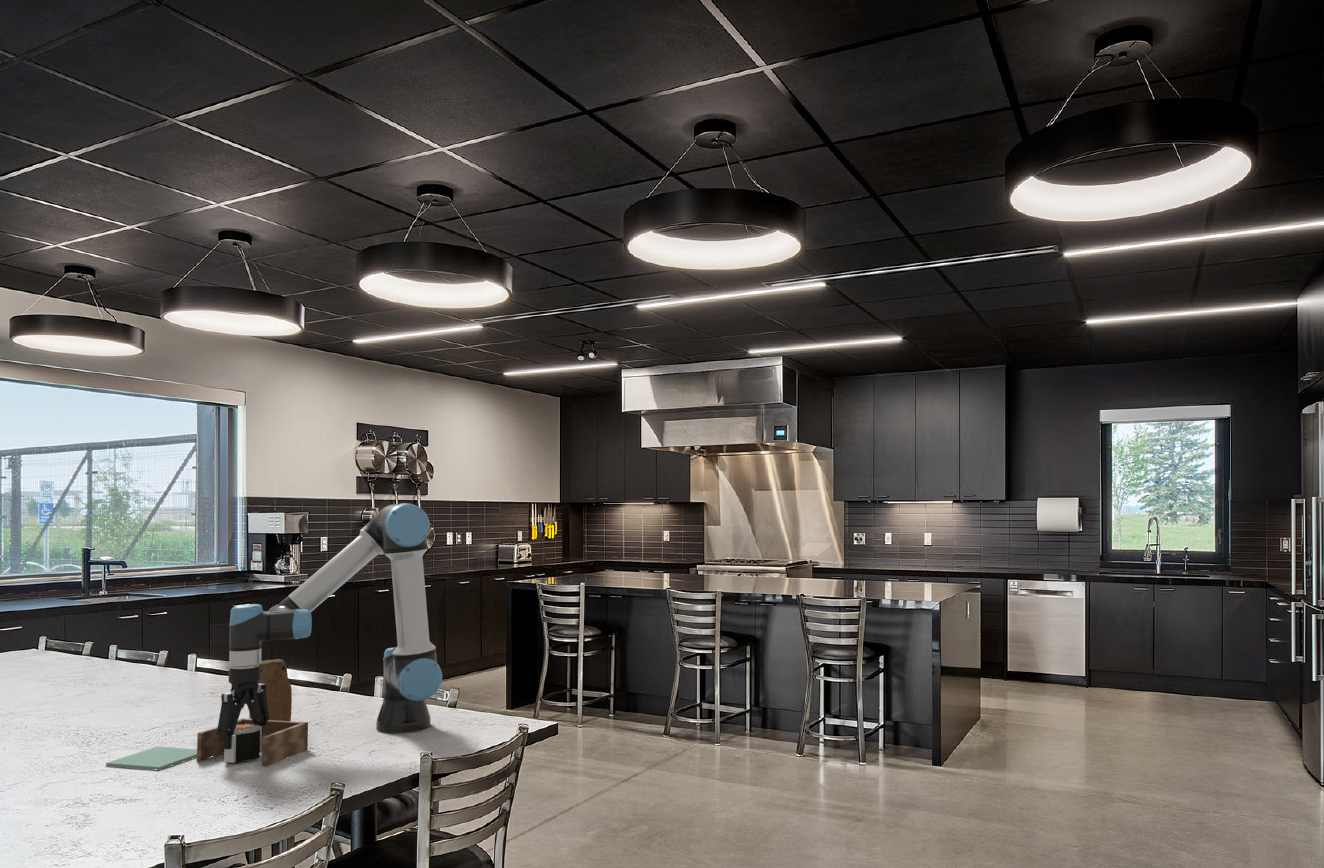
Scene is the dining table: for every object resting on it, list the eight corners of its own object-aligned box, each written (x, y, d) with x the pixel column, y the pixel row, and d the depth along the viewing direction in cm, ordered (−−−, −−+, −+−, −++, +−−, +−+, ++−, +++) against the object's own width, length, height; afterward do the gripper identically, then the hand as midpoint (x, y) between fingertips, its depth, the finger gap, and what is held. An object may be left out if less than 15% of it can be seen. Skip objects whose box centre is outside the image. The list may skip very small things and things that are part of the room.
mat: (207, 753, 236) (208, 750, 236) (159, 770, 220) (159, 767, 220) (157, 749, 240) (157, 746, 240) (106, 766, 224) (106, 763, 225)
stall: (241, 745, 244) (242, 718, 244) (307, 749, 239) (308, 722, 239) (196, 761, 228) (197, 732, 229) (265, 766, 223) (266, 737, 224)
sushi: (226, 764, 224) (226, 731, 225) (225, 756, 232) (225, 724, 232) (261, 759, 228) (262, 727, 229) (259, 751, 235) (260, 720, 236)
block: (250, 736, 253) (252, 663, 255) (248, 731, 260) (250, 660, 261) (292, 731, 258) (293, 660, 260) (288, 726, 265) (290, 656, 266)
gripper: (261, 658, 243) (259, 745, 241) (201, 673, 222) (199, 767, 220) (285, 659, 241) (283, 746, 239) (227, 674, 220) (225, 769, 218)
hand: (243, 756), depth 230 cm, fingers closed on sushi, 9 cm apart
